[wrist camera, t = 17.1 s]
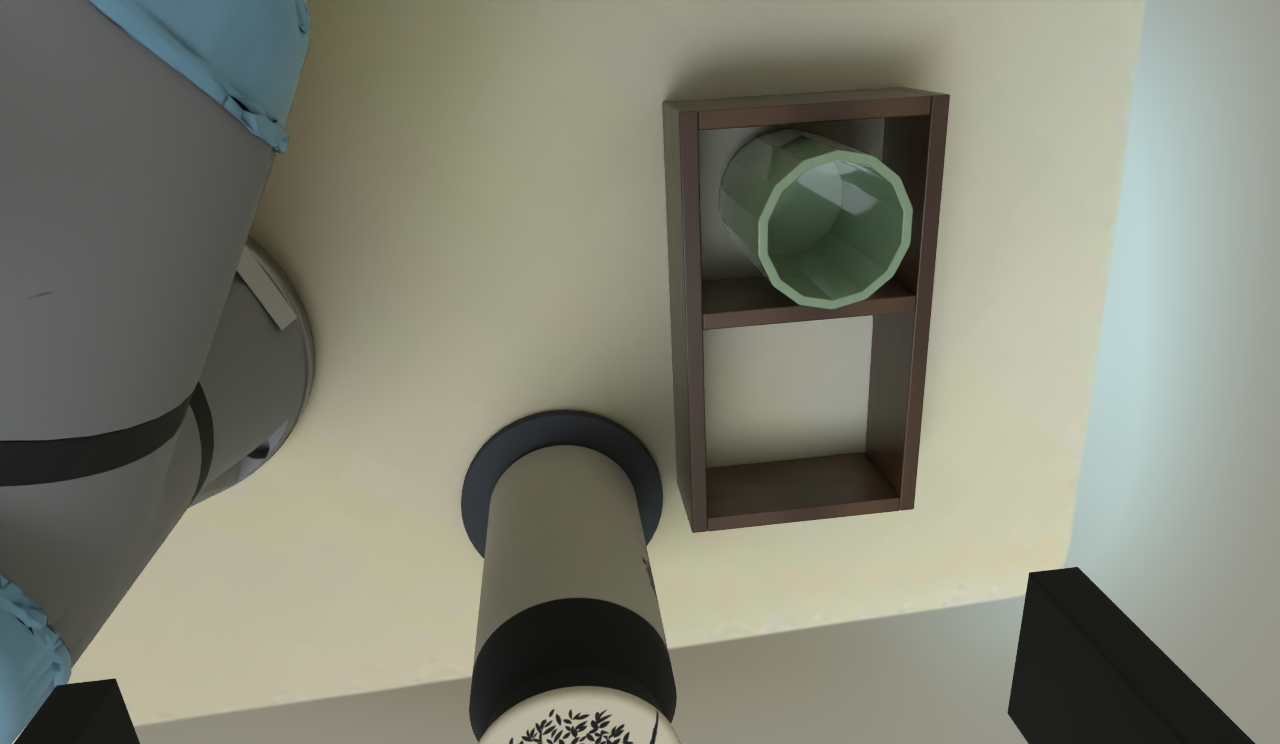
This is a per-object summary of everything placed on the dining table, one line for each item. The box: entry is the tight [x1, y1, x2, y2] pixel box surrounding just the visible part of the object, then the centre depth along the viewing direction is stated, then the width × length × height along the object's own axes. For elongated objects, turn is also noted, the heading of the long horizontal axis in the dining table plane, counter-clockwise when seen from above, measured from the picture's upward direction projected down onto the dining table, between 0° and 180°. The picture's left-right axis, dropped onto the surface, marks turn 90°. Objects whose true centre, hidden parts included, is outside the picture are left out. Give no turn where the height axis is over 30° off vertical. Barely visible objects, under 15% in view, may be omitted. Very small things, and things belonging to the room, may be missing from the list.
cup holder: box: [662, 87, 950, 533], centre depth 41 cm, size 12×20×5 cm, turn 3°
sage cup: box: [719, 129, 913, 309], centre depth 37 cm, size 6×6×8 cm
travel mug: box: [469, 445, 680, 744], centre depth 37 cm, size 8×8×18 cm
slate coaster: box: [461, 411, 663, 558], centre depth 46 cm, size 11×11×1 cm
